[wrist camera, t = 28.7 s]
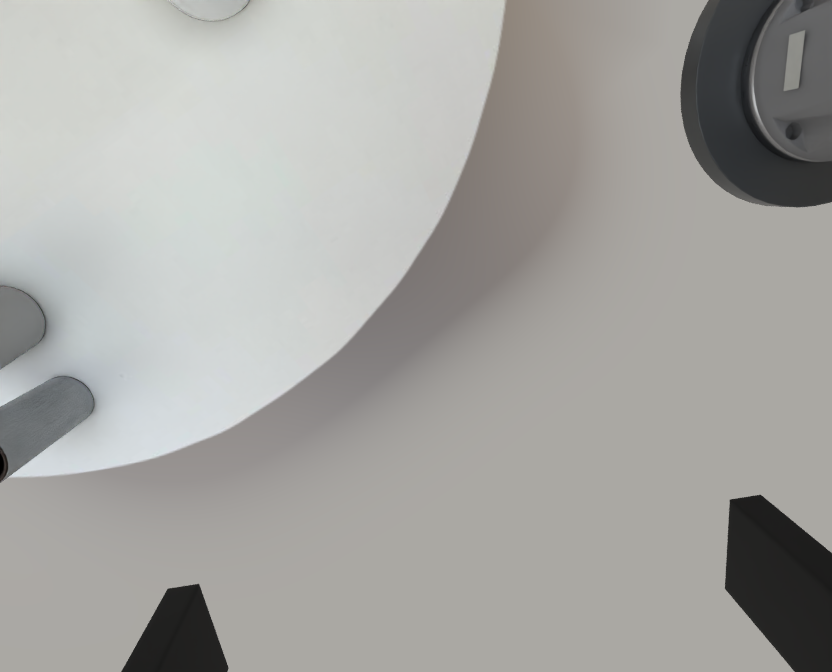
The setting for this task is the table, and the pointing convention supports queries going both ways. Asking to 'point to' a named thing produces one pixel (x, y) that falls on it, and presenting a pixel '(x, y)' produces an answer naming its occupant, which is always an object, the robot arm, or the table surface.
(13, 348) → the cup
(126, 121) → the table surface
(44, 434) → the grey cylindrical tube
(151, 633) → the robot arm
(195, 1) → the pill bottle
